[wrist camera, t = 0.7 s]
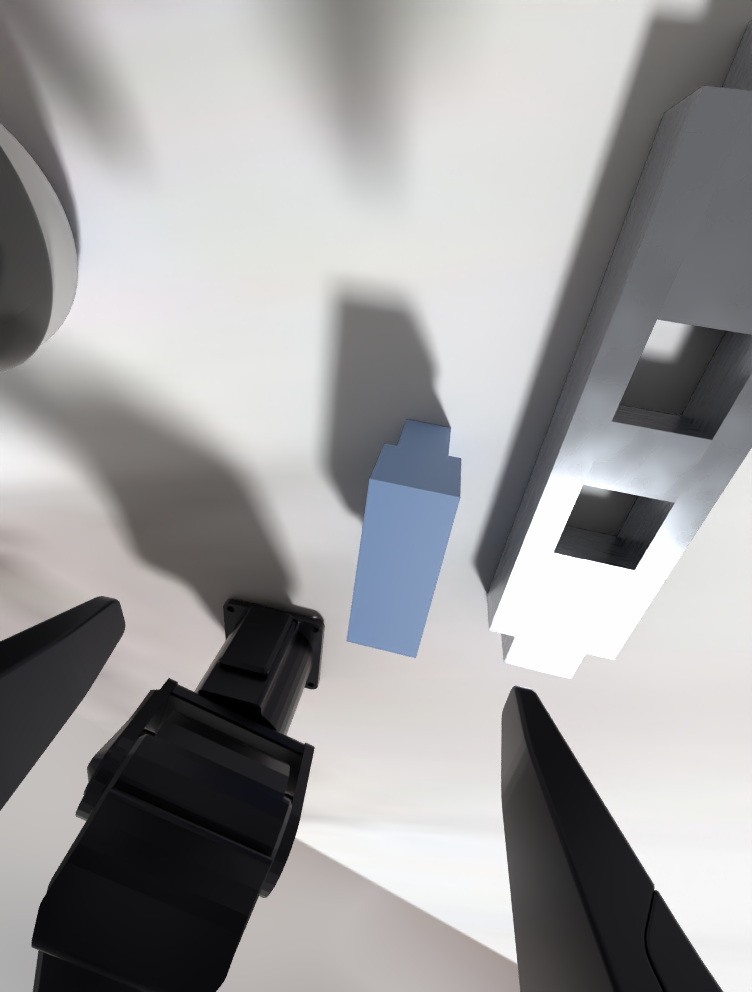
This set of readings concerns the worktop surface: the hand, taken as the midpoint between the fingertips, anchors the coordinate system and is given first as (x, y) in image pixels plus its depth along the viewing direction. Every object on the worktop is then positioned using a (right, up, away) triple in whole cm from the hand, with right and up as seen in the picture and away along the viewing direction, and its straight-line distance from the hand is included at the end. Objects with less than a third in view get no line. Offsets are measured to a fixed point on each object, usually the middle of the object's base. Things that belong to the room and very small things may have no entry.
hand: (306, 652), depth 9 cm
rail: (+12, +6, +8) cm, 16 cm away
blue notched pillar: (+3, +3, +12) cm, 12 cm away
